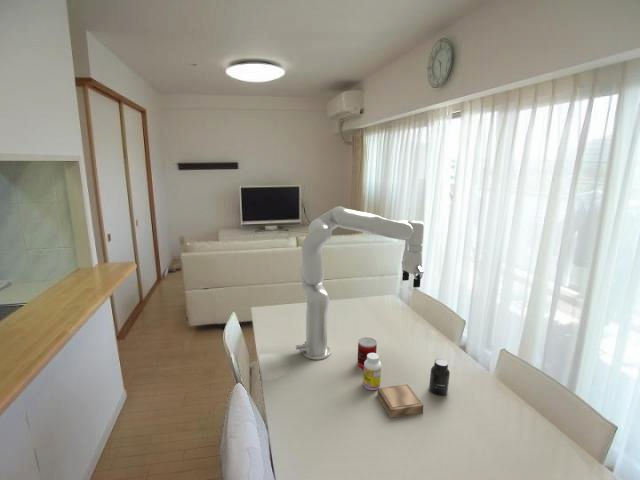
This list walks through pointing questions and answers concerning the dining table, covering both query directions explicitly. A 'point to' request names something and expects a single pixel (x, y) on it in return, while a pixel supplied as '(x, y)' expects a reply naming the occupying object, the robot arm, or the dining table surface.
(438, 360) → the supplement bottle
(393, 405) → the bronze plinth
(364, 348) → the canned food
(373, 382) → the supplement bottle
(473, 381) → the dining table surface
